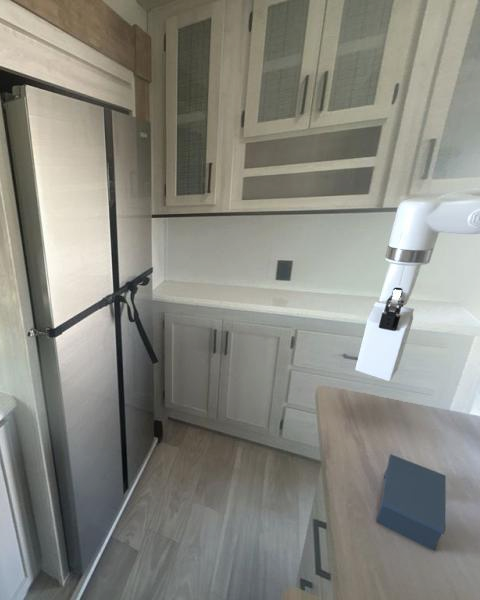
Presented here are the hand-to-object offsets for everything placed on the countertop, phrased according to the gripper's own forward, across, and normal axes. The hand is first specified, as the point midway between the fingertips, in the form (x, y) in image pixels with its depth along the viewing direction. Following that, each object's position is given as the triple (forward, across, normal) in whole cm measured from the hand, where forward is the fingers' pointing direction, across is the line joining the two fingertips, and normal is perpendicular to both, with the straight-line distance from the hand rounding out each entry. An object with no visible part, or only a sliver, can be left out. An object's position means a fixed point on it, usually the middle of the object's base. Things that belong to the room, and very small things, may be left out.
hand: (389, 322), depth 82 cm
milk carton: (+14, 0, 0) cm, 14 cm away
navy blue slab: (+30, +27, +10) cm, 41 cm away
